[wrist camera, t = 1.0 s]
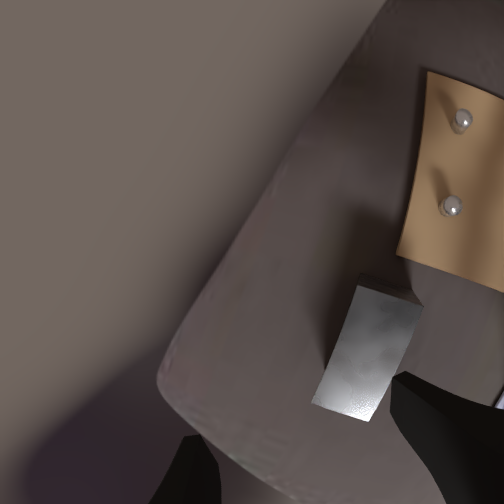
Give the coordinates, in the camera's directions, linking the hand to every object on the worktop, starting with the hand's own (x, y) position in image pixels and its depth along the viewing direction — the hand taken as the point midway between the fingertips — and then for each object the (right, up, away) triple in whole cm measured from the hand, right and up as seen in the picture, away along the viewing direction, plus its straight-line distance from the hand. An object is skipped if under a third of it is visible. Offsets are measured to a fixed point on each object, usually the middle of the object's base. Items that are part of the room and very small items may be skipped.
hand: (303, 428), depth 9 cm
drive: (+7, 0, +11) cm, 12 cm away
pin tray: (+15, +11, +6) cm, 20 cm away
